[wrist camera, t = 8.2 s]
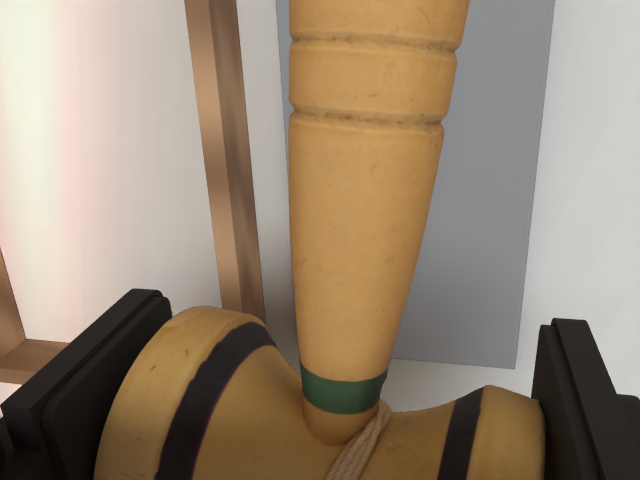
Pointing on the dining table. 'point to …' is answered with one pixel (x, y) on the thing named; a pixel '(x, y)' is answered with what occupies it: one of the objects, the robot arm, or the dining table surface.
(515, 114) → the mat
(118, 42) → the dining table surface
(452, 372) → the dining table surface
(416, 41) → the kendama
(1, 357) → the wooden frame
